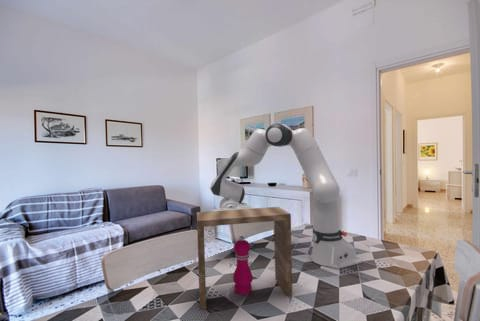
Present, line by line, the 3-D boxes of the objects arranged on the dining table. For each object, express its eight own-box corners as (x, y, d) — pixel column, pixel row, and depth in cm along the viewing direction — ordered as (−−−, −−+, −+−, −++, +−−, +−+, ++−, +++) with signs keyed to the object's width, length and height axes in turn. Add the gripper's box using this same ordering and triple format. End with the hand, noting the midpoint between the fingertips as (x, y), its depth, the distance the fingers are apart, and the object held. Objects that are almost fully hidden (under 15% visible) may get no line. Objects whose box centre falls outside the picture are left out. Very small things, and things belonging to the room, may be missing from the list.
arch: (280, 278, 96) (278, 206, 95) (292, 295, 84) (290, 213, 84) (199, 289, 90) (196, 212, 89) (200, 309, 78) (197, 221, 77)
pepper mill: (251, 296, 85) (249, 240, 84) (231, 294, 86) (229, 239, 86) (254, 285, 92) (252, 233, 91) (235, 283, 93) (234, 232, 93)
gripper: (209, 205, 120) (211, 211, 106) (249, 202, 124) (256, 208, 110) (209, 217, 120) (212, 226, 106) (249, 214, 124) (256, 222, 110)
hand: (235, 217), depth 108 cm, fingers open, 8 cm apart
